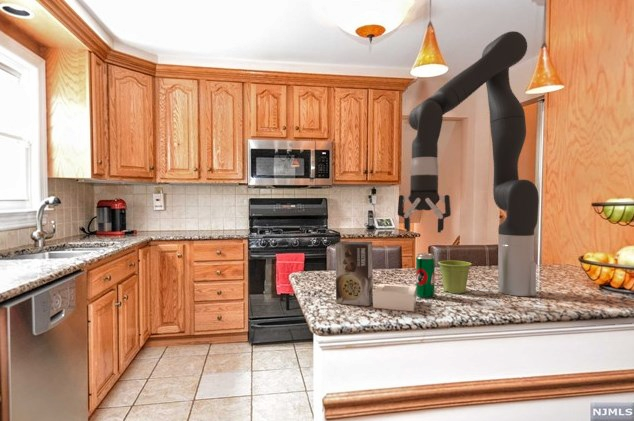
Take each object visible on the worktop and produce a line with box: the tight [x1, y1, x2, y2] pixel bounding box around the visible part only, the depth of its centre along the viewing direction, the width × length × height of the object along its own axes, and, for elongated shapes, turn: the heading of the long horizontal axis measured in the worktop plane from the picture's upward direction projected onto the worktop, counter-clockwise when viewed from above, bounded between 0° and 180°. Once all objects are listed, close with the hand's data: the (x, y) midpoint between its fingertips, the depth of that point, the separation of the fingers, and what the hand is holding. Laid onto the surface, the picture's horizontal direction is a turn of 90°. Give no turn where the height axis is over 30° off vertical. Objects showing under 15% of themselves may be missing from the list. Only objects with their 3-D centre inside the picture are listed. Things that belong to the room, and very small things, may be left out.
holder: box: [372, 283, 418, 312], centre depth 95 cm, size 10×10×4 cm
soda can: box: [415, 252, 436, 299], centre depth 103 cm, size 5×5×12 cm
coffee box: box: [334, 240, 374, 307], centre depth 97 cm, size 9×6×16 cm
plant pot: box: [437, 260, 472, 295], centre depth 109 cm, size 9×9×9 cm
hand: (423, 231), depth 102 cm, fingers open, 8 cm apart
